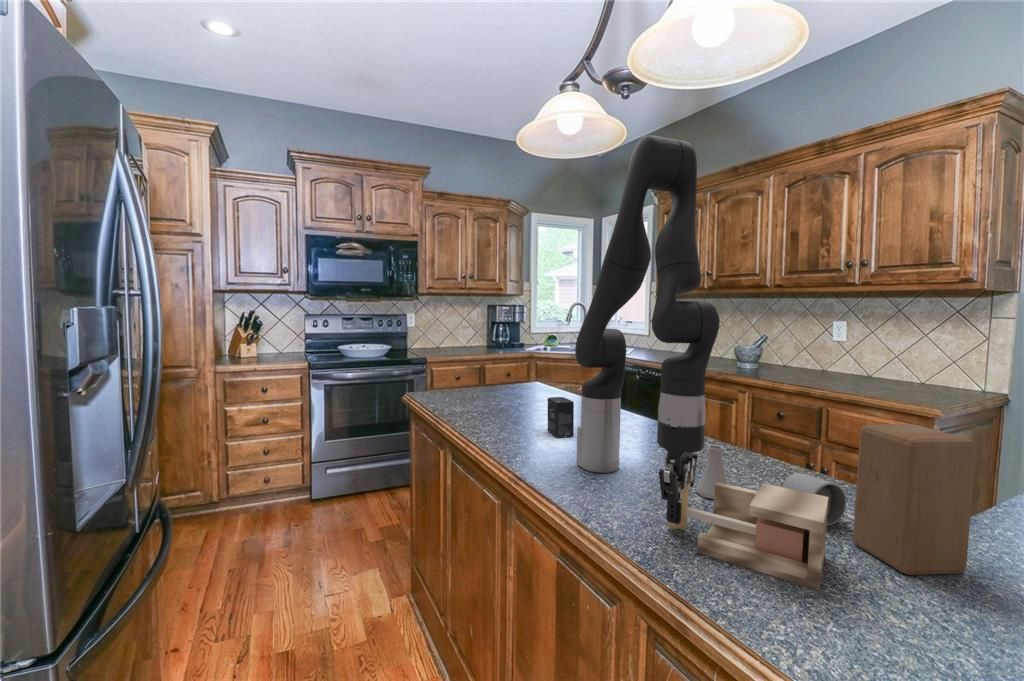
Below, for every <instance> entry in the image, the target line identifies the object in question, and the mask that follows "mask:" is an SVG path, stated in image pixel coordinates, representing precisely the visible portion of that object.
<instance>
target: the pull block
mask: <svg viewBox="0 0 1024 681" xmlns="http://www.w3.org/2000/svg"><path fill="white" fill-rule="evenodd" d="M677 482H678V483H681V482H679V481H677ZM688 490H689V485H688V484H687V486H686V488H685V489H683V495H682V510H681V522H680V523H679V524H674V523H671V522H668V521H667V520H666V521H667V522H666V523H667V525H668V527H671V528H674V529H679V530H681V529H682V530H683V529H686V528H687V527H688V518H691V519H694V520H698V521H703V522H706V523H710V524H712V525H713V524H716V525H720V526H723V527H727V528H731V529H734V530H738V531H742V532H745V533H749V534H753V535H756V538H755V549H757V550H760V551H764V552H767V553H771V554H774V555H778V556H781V557H785V558H788V559H792V560H795V561H799V562H802V563H803V559H804V555H805V550H806V533H807V529H803V528H799V527H795V526H791V525H787V524H783V523H779V522H775V521H771V520H767V519H763V518H758V520H757V522H756V525H755V524H752V523H748V522H744V521H740V520H736V519H732V518H729V517H725V516H721V515H717V514H714V512H709V511H705V510H701V509H697V508H693V507H690V506H689V497H688V495H689V494H688ZM671 493H672V494H673V492H671Z"/></svg>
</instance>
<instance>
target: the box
mask: <svg viewBox="0 0 1024 681" xmlns="http://www.w3.org/2000/svg"><path fill="white" fill-rule="evenodd" d="M574 403H575V402H574V400H571V399H568V398H566V397H563V396H554V397H553V396H552V397H548V398H547V432H548V431H549V432H548V433H549V434H551V433H552V434H553V436H554V437H555V436H556V438H557V437H565V436H573V437H574V431H575V430H574V428H575V427H574V423H575V420H574V417H575V414H574V411H575V409H574V408H575V404H574ZM552 434H551V435H552ZM565 438H566V437H565Z"/></svg>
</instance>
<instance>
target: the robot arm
mask: <svg viewBox="0 0 1024 681" xmlns="http://www.w3.org/2000/svg"><path fill="white" fill-rule="evenodd" d="M697 161H698V160H697V154H696V150H695V148H694V146H693V145H692V144H691V143H690V142H688V141H686V140H683V139H682V140H681V139H677V138H669V137H665V136H664V137H663V136H660V135H659V136H658V135H652V134H651V135H650V134H649V135H648V134H646V135H644V136H642V137H641V138H640V139H639V140H638V141H637V143H636V145H635V146H634V149H633V151H632V154H631V156H630V160H629V164H628V168H627V172H626V177H625V182H624V186H623V191H622V194H621V201H620V205H619V209H618V213H617V215H616V220H615V223H614V227H613V230H612V234H611V237H610V240H609V243H608V246H607V249H606V252H605V256H604V258H603V261H602V265H601V268H600V272H599V276H598V280H597V282H596V287H595V290H594V293H593V296H592V300H591V302H590V306H589V307H588V310H587V313H586V315H585V318H584V320H583V321H582V325H581V327H580V330H579V331H578V334H577V335H578V336H577V338H576V342H575V352H574V354H575V359H576V362H577V363H578V365H580V366H581V367H583V368H590V369H591V368H593V369H596V368H597V369H599V368H601V370H600V372H599V373H598V374H597V375H595V376H594V377H593V378H591V379H589V380H587V381H585V382H584V383H582V386H581V404H580V406H581V408H580V409H581V410H580V414H581V415H580V425H578V426H577V429H576V430H577V432H576V435H577V436H576V463H575V464H576V467H577V466H578V467H580V468H582V469H583V470H586V471H589V472H593V473H598V474H599V473H606V474H607V473H614V472H617V471H618V470H619V468H620V443H621V441H620V438H621V411H622V410H621V408H622V407H621V406H622V401H621V399H622V390H623V386H624V383H625V374H626V373H625V370H626V358H627V342H626V338H625V335H624V334H623V332H622V331H621V329H618V328H607V326H608V324H609V322H610V321H611V319H612V318H613V317H614V316H615V314H616V313H618V311H620V309H622V308H623V307H624V306H625V305H626V304H627V303H628V302H629V301H630V300H631V299H632V298H633V297H634V296H635V295H636V294H637V293H638V291H639V290H640V288H641V287H642V285H643V282H644V280H645V277H646V274H647V272H648V270H649V266H650V262H651V259H652V252H651V245H650V241H649V238H648V234H647V230H646V227H645V222H644V205H645V200H646V196H647V194H648V190H653V191H660V192H666V193H667V192H668V193H669V194H670V199H671V210H670V212H669V215H668V217H667V218H666V221H665V222H664V224H663V226H662V227H661V229H660V231H659V233H658V236H657V239H656V242H655V246H654V256H655V257H654V258H655V267H656V274H657V287H656V288H657V290H656V297H655V298H656V299H655V304H654V307H653V308H654V309H653V313H652V318H651V330H652V331H653V334H654V336H655V338H656V339H657V340H659V341H660V342H661V343H664V344H689V345H688V346H687V349H686V351H685V352H684V353H683V354H680V355H676V356H672V357H671V356H670V357H669V358H665V359H664V360H663V361H662V363H661V369H660V370H661V371H660V394H659V400H658V404H657V405H658V406H657V407H658V408H657V430H656V431H657V433H656V434H657V436H656V438H657V439H656V442H657V443H656V444H657V445H658V446H659V447H661V448H663V449H664V450H666V452H667V453H666V456H665V458H664V460H663V467H664V469H662V468H659V471H658V478H659V479H658V480H659V484H660V486H659V487H660V494H661V499H662V500H663V501H666V503H667V504H666V521H668V522H671V523H674V524H679V523H680V522H681V510H682V495H683V489H685V488H686V486H687V484H688V485H689V490H688V498H689V495H690V494H691V493H692V492H691V491H692V490H691V488H694V486H695V478H696V476H695V475H696V469H697V464H698V459H699V456H698V452H701V451H702V450H703V449H704V448H705V434H706V433H705V431H706V410H707V409H706V399H705V397H706V374H707V373H706V372H707V367H708V364H709V361H710V357H711V354H712V351H713V347H714V344H715V342H716V340H717V338H718V333H719V330H720V319H721V318H720V314H719V311H718V310H717V308H716V307H715V306H714V305H713V304H712V303H710V302H709V301H708V302H707V301H696V300H694V301H690V300H686V301H685V300H683V301H681V300H677V298H676V296H678V295H682V294H687V293H689V292H690V293H691V292H692V291H694V290H696V289H697V288H698V287H699V286H700V284H701V280H702V275H701V273H702V271H701V267H700V261H699V260H700V259H699V253H698V247H697V238H696V236H697V235H696V214H697V213H696V209H697V184H698V183H697V182H698V180H697V179H698V163H697ZM677 481H679V482H681V483H678V482H677ZM671 492H673V494H672V493H671Z"/></svg>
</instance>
